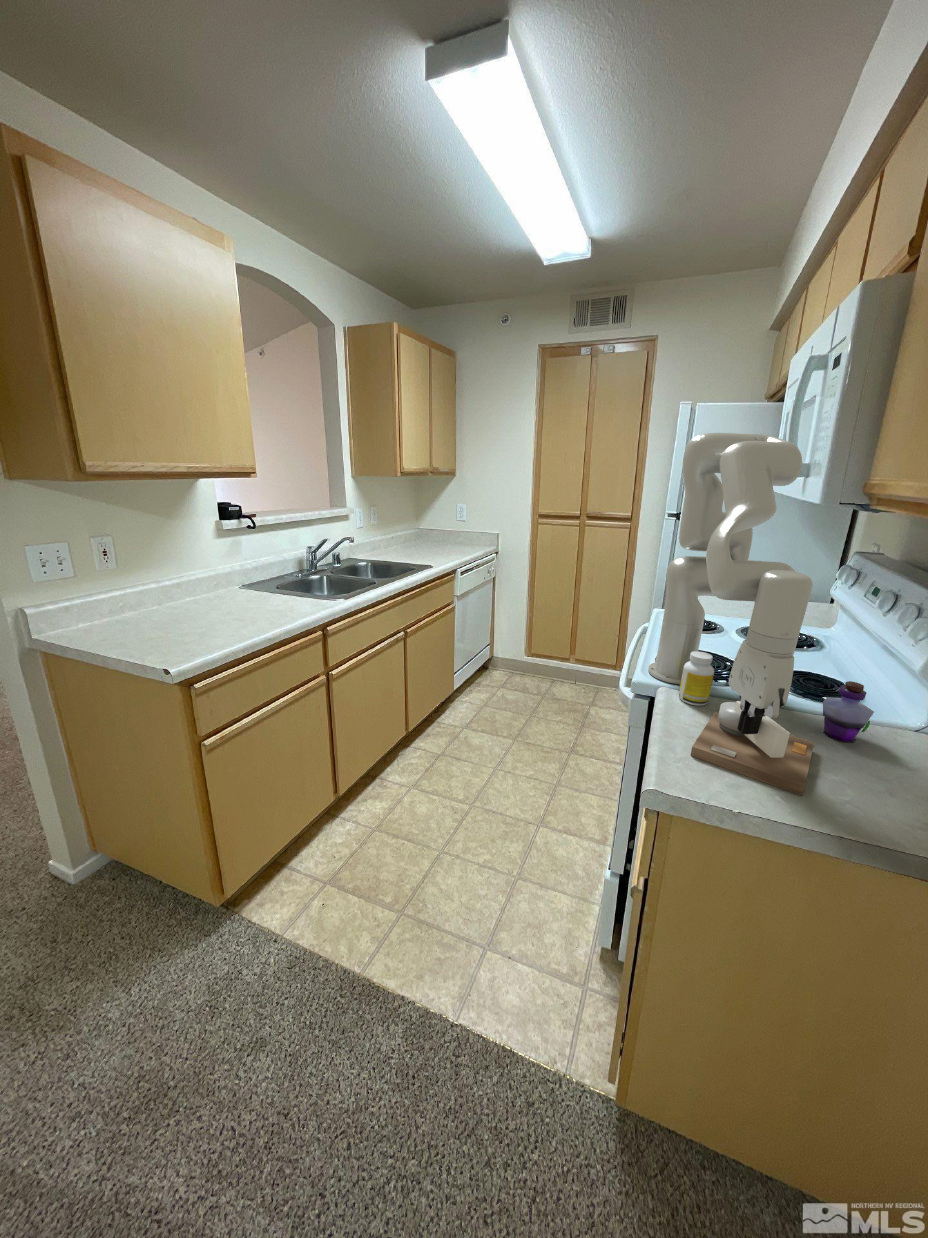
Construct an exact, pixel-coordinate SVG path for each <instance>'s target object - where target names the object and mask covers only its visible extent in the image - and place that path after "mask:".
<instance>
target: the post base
mask: <svg viewBox="0 0 928 1238" xmlns="http://www.w3.org/2000/svg"><path fill="white" fill-rule="evenodd" d="M718 715H719V712H717V711H714V712H713V714H712V716H710V718H709V720H708V722H707V723H706V725H705V727H703V729H702V730H701V733H700V734H699V735H698V737H697V738H696V740H695V742H694V743H693V744H692V747H691V752H690V756H691V757H693V758H696V759H699V760H702V761H704V762H708V763H710V764H713V765H716V766H718V767H721V768H724V769H727V770H730V771H732V772H735V773H737V774H740V775H743V776H746V777H748V778H751V779H755V780H756V781H760V782H762V783H765V784H768V785H770V786H773V787H776V788H778V789H782V790H785V791H788V792H789V793H793V794H795V795H799V796H801V797H803V794H804V790H805V788H806V784H807V777H808V774H809V769H810V764H811V759H812V753H813V749H814V744H815V741H812V740H809V739H805V738H801V737H799V736H795V735H792V734H790V735H789V739H788V743H787V746H786V750H785V754H784V757H780V758H771V757H770V756H768V755H767V754H766V753H765V752H764V751H763V750H761V749H760V748H759V747H758V746H757V745H756V744H755V743H753V742H752V741H751V740H750V739H749V738H748V737H746V736H745V735H744V734H742V733H741V732H739V731H735V730H732V729H729V728H727V727H725V726H723V725H722V724H720V723H719V721H718Z"/></svg>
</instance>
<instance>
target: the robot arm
mask: <svg viewBox="0 0 928 1238" xmlns="http://www.w3.org/2000/svg"><path fill="white" fill-rule="evenodd" d="M682 457H683V458H682V474H683V475H682V476H683V481H684V482H683V483H684V498H683V504H682V505H683V506H682V510H681V511H682V512H681V519H680V524H679V525H680V526H679V532H678V535H679V536H678V542H679V544H680V546H681V547H682V548H683V549H685V550H687V551H694V552H706V553H705V556H693V555H686V556H679V557H676V558H674V559H673V560H672V561H670V562H669V564H668V566H667V568H666V594H665V605H664V611H663V617H662V618H663V619H662V623H661V629H660V635H659V641H658V646H657V647H658V648H657V652H656V659H655V662H652V663H651V664H649V665H648V673H649V674H650V675H651V676H652V677H654V678H655V679H657V680H660V681H662V682H666V683H669V684H674V685H681V679H682V674H683V668H684V665H685V664H686V663H687V662H689V661H690V654H691V652H693V651H699V648H700V642H701V639H702V634H703V628H704V625H705V624H704V623H705V618H706V617H705V616H706V612H705V609H704V607H703V605H702V604H701V602H700V600H699V599H698V598H699V597H706V596H707V597H716V598H718V599H719V600H723V601H724V600H725V601H732V602H733V601H735V602H737V601H738V602H754V603H753V604H754V605H753V608H752V613H751V616H750V621H749V625H748V629H747V634H746V638H745V639H743V640H742V642H741V643H740V646H739V648H738V650H737V653H736V656H735V657H734V660H733V664H732V666H731V667H732V668H731V671H730V674H729V678H728V686H729V688H731V689H732V691H734V692H735V693H736V694H737V695H738V696H739V698H740V700H741V702H740V709H741V710H742V711H741V715H740V719H739V723H738V727H737V729H738V730H739V731H741V733H742V734H757V733H758V731H759V727H760V724H761V721H762V717H765V716H768V717H769V718H771V719H772V718H779V715H780V709H783V708H784V707H785V706H786V705H787V701H788V700H789V699H788V698H789V696H790V691H791V687H792V682H793V675H794V667H795V656H794V655H795V651H796V649H797V648H796V647H797V643H798V640H799V636H800V632H801V630H802V626H803V621H804V617H805V615H806V613H807V608H808V604H809V602H810V601H809V600H810V597H811V594H812V591H813V580H812V579H811V577H810V576H809V575H806V574H804V573H801V572H798V571H796V570H795V569H794V568H793V567H792V566H791V565H789V564H787V563H785V562H781V561H780V562H779V561H767V560H765V561H764V560H763V561H762V560H750V559H749V558H750V551H751V547H752V542H753V534H754V532H753V531H754V529H753V528H754V527H758V526H760V525H762V524H764V523H766V522H768V521H769V520H770V519H771V518H772V517H774V515H775V514H776V512H777V503H776V497H775V490H774V487H785V486H788V485H791V484H793V483H794V482H795V481H796V480H797V479H798V478H799V476H800V473H801V471H802V467H803V457H802V454H801V451H800V449H799V447H798V446H797V444H795V443H793V442H791V441H788V440H786V439H782V438H779V437H776V436H773V435H770V434H762V433H761V434H758V433H757V434H756V433H736V432H733V433H732V432H708V433H702V434H697V435H696V436H693V438H691V439H690V440H689V441H688V442H687V444H686V447H685V449H684V453H683V456H682ZM717 474H720V478H721V479H719V477H718V476H717ZM723 504H724V510H725V511H723Z"/></svg>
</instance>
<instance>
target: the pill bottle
mask: <svg viewBox="0 0 928 1238" xmlns="http://www.w3.org/2000/svg"><path fill="white" fill-rule="evenodd" d="M713 659H714V658H713V655H712V654H710V653H708V652H704V651H700V650H698V651H693V652H691V654H690V661H689V662H687V663H686V664H685V665H684V668H683V674H682V679H681V684H679V691H678V692H679V693H678V698H679V699H680V700H681V702H684V703H685V704H688V705H692V706H697V707H700V706H704V705H707V704H708V702H709V700H710V694H711V689H712V685H713V680H714V675H715V668H714V666H712V665H711V664H712V663H713Z"/></svg>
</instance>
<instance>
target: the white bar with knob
mask: <svg viewBox="0 0 928 1238" xmlns="http://www.w3.org/2000/svg"><path fill="white" fill-rule="evenodd" d="M740 702H741V701H739V700H736V701H725V702H722V703H721V704H720V706H719V711H718V713H719V715H718V721H719V723H720V724H722V725H723V726H725V727H727V728H729V729H732V730H735V731H739V730H738V729H737V727H738V723H739V719H740V715H741V711H742V710H741V709H740ZM739 732H741V731H739ZM744 735H745V736H746V737H748V738H749V739H750V740H751V741H752V742H753V743H755V744H756V745H757V746H758V747H759V748H760V749H761V750H763V751H764V752H765V753H766V754H767V755H768V756H770V757H771V758H780V757H784V754H785V750H786V746H787V743H788V739H789V735H791V733H790V731H788V730H787V729H785V728H784V727H783V726H782V725H780V724H779V723H777V722H776V721H775V720H773V719H772V718H770V717H768V716H765V717H762V721H761V724H760V727H759V731H758V733H757V734H744Z"/></svg>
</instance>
